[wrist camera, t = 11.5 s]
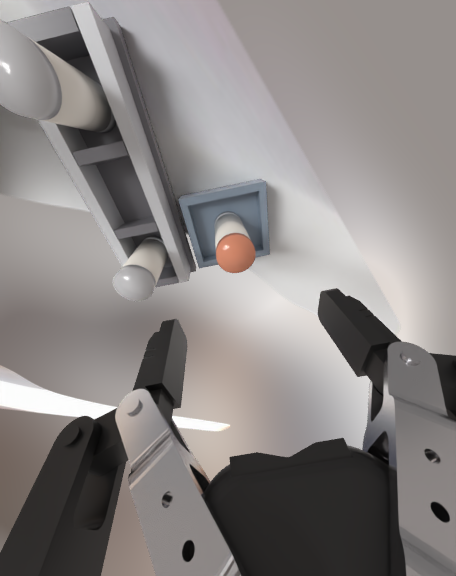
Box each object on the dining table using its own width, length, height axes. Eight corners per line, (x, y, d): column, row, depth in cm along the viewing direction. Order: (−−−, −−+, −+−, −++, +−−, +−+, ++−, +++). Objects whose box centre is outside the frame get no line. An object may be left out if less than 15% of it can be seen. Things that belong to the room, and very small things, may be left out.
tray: (200, 259, 28) (199, 268, 26) (181, 195, 23) (178, 199, 21) (265, 246, 28) (269, 254, 26) (260, 178, 23) (265, 181, 20)
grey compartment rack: (142, 277, 29) (133, 294, 25) (23, 49, 16) (-32, 18, 12) (196, 267, 29) (194, 283, 25) (119, 25, 15) (92, -14, 12)
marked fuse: (217, 241, 26) (220, 276, 18) (211, 214, 24) (212, 241, 16) (243, 236, 25) (257, 269, 18) (239, 208, 23) (253, 232, 16)
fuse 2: (148, 262, 26) (124, 304, 19) (136, 238, 24) (105, 274, 17) (173, 257, 26) (159, 297, 19) (163, 232, 24) (143, 266, 17)
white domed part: (88, 136, 18) (6, 123, 11) (63, 84, 16) (-59, 24, 9) (124, 128, 18) (65, 110, 11) (103, 74, 16) (13, 6, 9)
